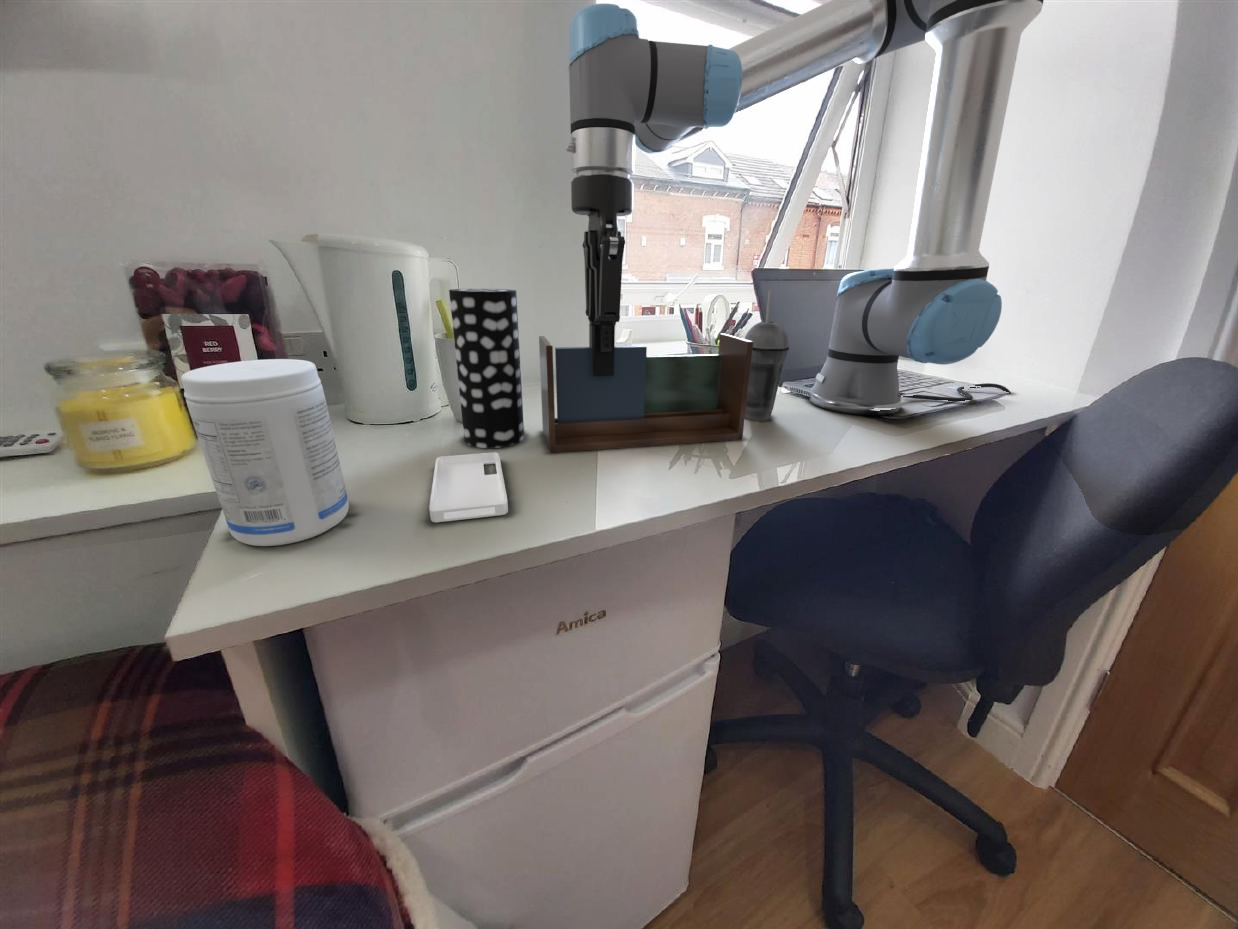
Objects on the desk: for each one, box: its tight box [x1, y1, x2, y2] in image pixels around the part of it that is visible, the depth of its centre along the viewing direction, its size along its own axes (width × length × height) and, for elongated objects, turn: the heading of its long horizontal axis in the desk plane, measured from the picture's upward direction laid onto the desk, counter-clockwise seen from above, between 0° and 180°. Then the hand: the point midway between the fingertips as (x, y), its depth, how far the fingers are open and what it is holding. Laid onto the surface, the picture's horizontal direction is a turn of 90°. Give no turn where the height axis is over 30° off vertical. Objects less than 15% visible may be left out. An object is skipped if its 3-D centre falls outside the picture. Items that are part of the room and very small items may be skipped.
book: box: [554, 323, 648, 423], centre depth 68 cm, size 12×2×15 cm, turn 104°
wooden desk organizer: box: [538, 333, 753, 454], centre depth 70 cm, size 28×9×14 cm, turn 104°
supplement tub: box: [180, 358, 350, 547], centre depth 44 cm, size 10×10×15 cm
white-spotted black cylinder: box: [448, 288, 525, 449], centre depth 67 cm, size 8×8×20 cm
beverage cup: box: [744, 290, 790, 422], centre depth 80 cm, size 7×7×20 cm
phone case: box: [428, 452, 509, 523], centre depth 54 cm, size 7×1×15 cm
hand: (601, 373), depth 68 cm, fingers closed on book, 2 cm apart
